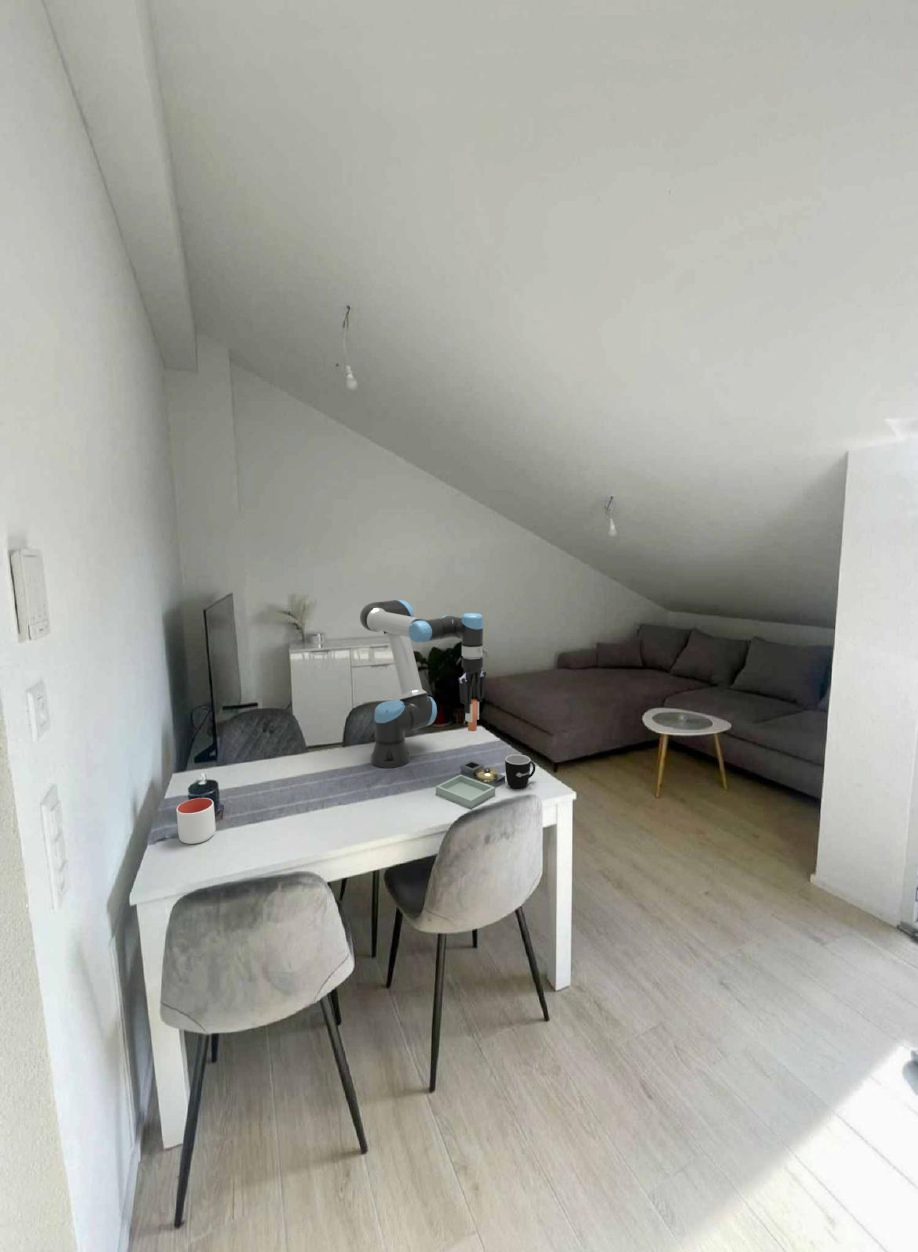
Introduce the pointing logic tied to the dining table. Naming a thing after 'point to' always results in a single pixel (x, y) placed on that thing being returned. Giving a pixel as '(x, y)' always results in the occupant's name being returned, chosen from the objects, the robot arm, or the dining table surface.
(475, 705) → the pin
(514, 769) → the mug
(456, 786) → the tray
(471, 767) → the pulley block
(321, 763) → the dining table surface
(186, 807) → the cup
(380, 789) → the dining table surface
